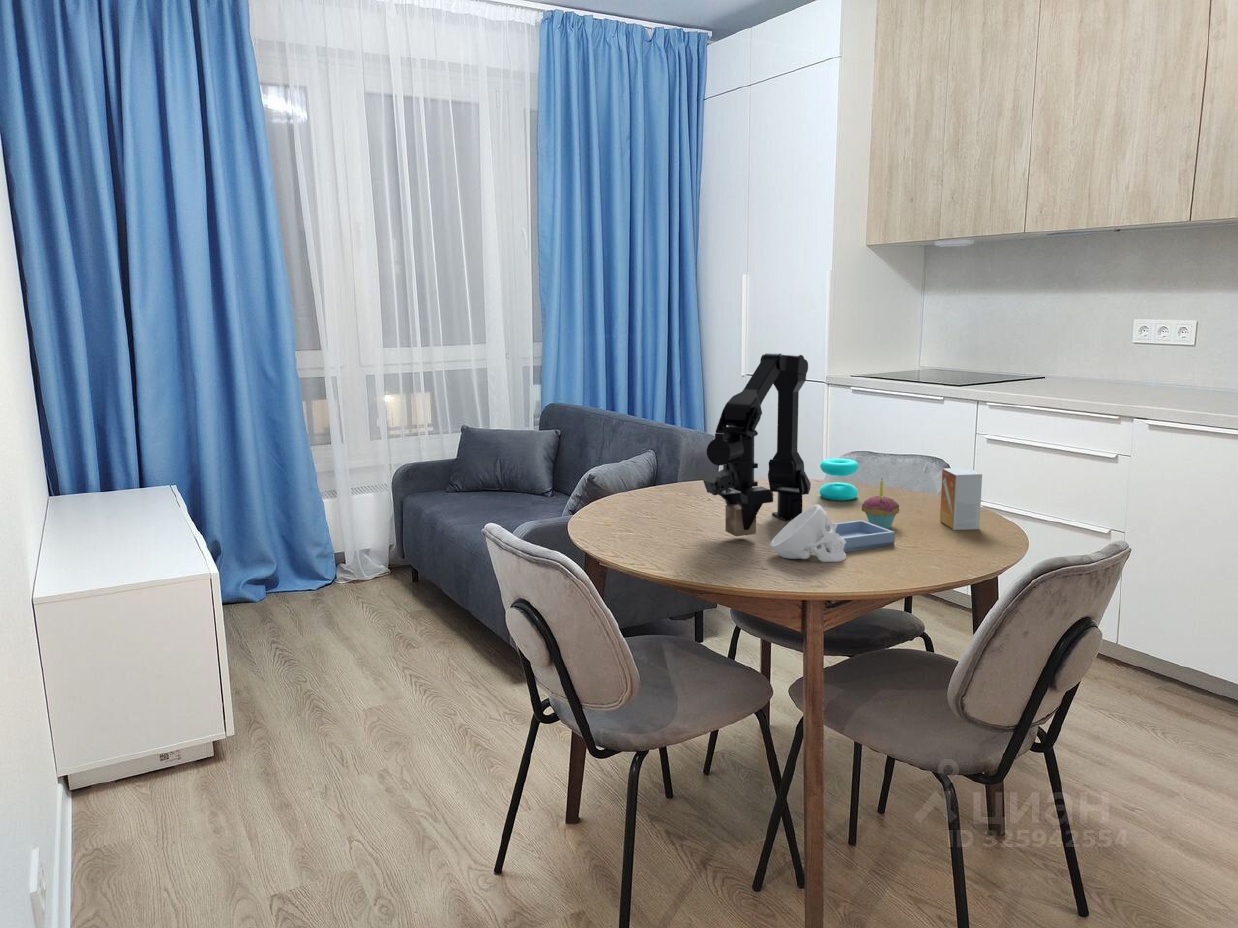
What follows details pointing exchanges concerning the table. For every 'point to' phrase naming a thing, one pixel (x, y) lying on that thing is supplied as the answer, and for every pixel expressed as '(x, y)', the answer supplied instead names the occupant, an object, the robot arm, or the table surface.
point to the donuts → (839, 469)
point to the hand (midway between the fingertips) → (740, 526)
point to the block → (737, 521)
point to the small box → (961, 498)
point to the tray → (864, 535)
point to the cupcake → (880, 509)
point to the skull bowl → (810, 537)
